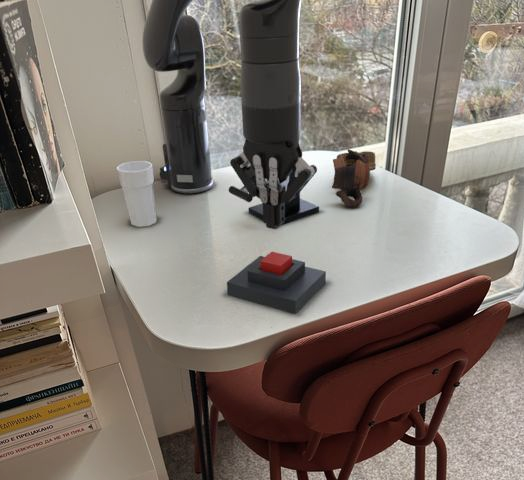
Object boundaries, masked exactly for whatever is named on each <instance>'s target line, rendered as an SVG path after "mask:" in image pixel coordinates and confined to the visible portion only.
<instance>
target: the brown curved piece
mask: <svg viewBox="0 0 524 480" xmlns="http://www.w3.org/2000/svg"><path fill="white" fill-rule="evenodd" d="M359 153H363V154H365V155H366V157H367V159H368V162H369V167H370V172H371V171H374V170H376V165H377V163H376V153H375V152H374V151H368V150H367V151H361V152H359ZM347 154H348V152H343V153H339V154H337V155H336V159H337V158H343V159H344V160H345V161H344V162H345V164H346V165H351V164H355V163H356V161H357V160H360V158H357V159H347V160H346V158H345V157H346V155H347ZM360 161H361V160H360Z"/></svg>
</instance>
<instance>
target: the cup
mask: <svg viewBox="0 0 524 480" xmlns="http://www.w3.org/2000/svg"><path fill="white" fill-rule="evenodd" d="M153 168H154V167H153V164H152V163H151V162H150V161H146V160H134V161H132V160H131V161H127V162H123V163H120V164H119V165H118V166H117V167H116V172H117V176H118V180H119V184H120V186H121V188H122V193H123V196H124V199H125V204H126V209H127V211H128V215H129V219H130V224H131V226H134V227H137V228H142V227H150V226H152V225H154V224H156V223H157V211H156V203H155V192H154V182H155V177H154V169H153Z"/></svg>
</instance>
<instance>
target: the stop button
mask: <svg viewBox="0 0 524 480" xmlns="http://www.w3.org/2000/svg"><path fill="white" fill-rule="evenodd" d="M266 255H267V256H266ZM266 255H265V256H266V257H265V256H264V257H265V258H263V259H262V260H261V261H260V269H261V270H263V271H267V272H271V273H275V274H279V275H282V274H284V273H285V272H286V271H287V270H288V269H289V268H290V267H292V259H293V255H288V254H285V253H281V252H276V251H271V252H269V253H268V254H266Z"/></svg>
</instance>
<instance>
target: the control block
mask: <svg viewBox="0 0 524 480" xmlns="http://www.w3.org/2000/svg"><path fill="white" fill-rule="evenodd" d="M267 255H268V254H266V255H265V256H263V255H260V256H258V257H257V258H256V259H254V260H253V261H252V262H250V263H249V264H248V265H247V266H246V267H244V268H243V269H242V270H240V271H239V272H238V273H236V274H234V276H232V277H231V278H230V279H229V280H228V281H226V289H227V290H226V291H227V295H228V296H232V297H235V298H237V299H242V300H246V301H248V302H253V303H256V304H259V305H263V306H267V307H270V308H274V309H278V310H282V311H285V312H288V313H291V314H297V313H298V312H299V311H300V310H301V309H302V308H303V307H304V306H305V305H306V304H307V303H308V302H309V301H310V300H311V299H312V298H313V297H314V296H315V295H316V294H317V293H318V292H319V291H320V290H321V289H322V288H323V287H324V286H325V285H326V280H327V271H326V270H321V269H317V268H314V267H309V266H306V261H302V260H298V259H294V258H292V267H290V268H289V269H288V270H287V271H286V272H285V273H284V274H282V275H279V274H275V273H271V272H267V271H263V270H261V269H260V261H261V260H262V259H263V258H265V257H266V256H267Z"/></svg>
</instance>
